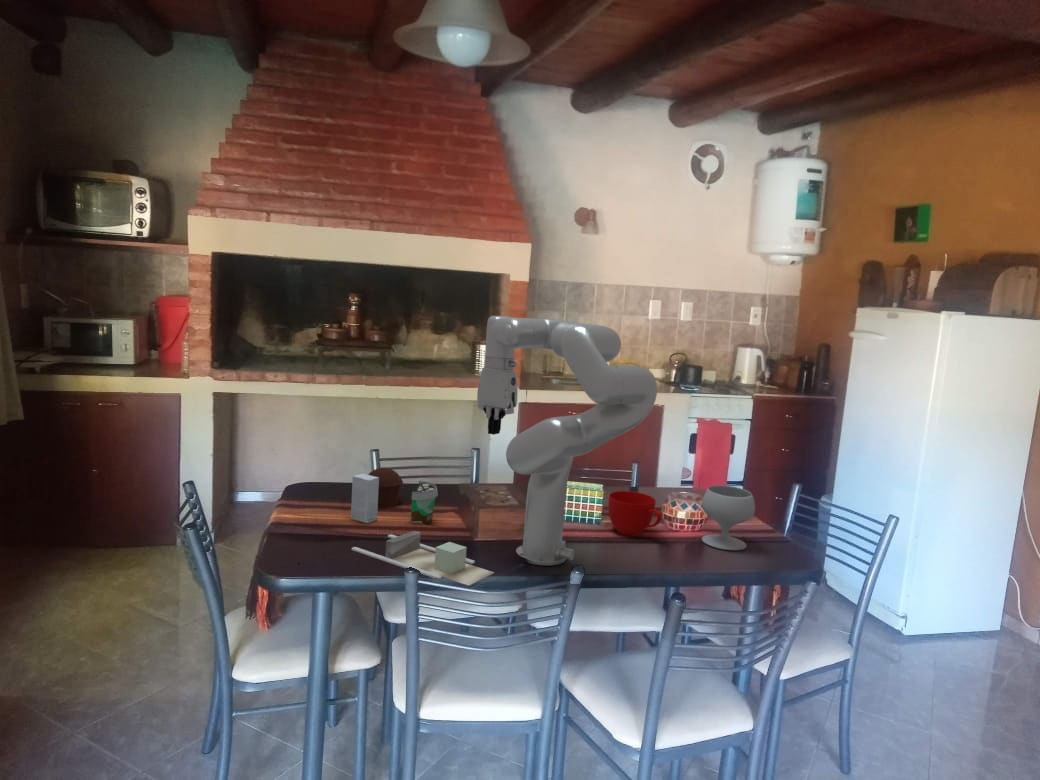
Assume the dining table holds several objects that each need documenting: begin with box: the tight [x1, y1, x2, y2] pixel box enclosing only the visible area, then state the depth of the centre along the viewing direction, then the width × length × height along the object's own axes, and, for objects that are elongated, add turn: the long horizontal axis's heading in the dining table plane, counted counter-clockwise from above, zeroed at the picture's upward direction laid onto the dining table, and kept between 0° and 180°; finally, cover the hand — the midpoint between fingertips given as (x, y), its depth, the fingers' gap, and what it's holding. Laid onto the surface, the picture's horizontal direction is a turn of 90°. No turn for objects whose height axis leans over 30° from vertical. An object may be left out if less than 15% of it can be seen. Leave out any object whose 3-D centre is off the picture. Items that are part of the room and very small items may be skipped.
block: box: [434, 541, 468, 574], centre depth 173 cm, size 5×5×5 cm
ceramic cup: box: [607, 490, 662, 537], centre depth 212 cm, size 13×17×10 cm
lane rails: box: [351, 534, 476, 580], centre depth 180 cm, size 26×14×2 cm, turn 58°
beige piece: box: [384, 530, 495, 589], centre depth 175 cm, size 24×10×5 cm, turn 58°
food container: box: [410, 480, 439, 526], centre depth 207 cm, size 12×6×10 cm, turn 179°
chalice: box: [701, 484, 756, 551], centre depth 209 cm, size 14×14×15 cm
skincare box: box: [350, 473, 379, 524], centre depth 206 cm, size 6×4×12 cm
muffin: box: [367, 467, 404, 508], centre depth 222 cm, size 12×11×10 cm
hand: (493, 433), depth 200 cm, fingers closed
